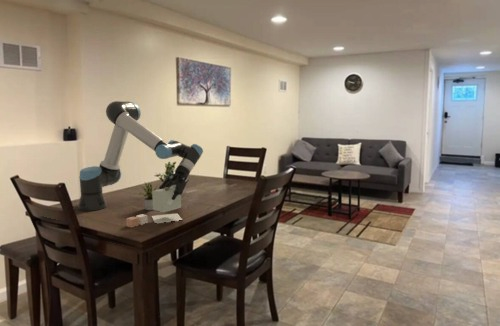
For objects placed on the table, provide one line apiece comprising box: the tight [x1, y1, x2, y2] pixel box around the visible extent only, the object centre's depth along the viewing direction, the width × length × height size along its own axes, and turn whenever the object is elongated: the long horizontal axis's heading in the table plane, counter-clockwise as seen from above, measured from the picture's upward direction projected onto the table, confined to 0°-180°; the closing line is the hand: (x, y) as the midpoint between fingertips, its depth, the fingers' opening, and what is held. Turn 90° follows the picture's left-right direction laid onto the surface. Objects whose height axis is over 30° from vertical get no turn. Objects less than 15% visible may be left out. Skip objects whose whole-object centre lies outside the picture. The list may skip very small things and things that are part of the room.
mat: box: [151, 213, 183, 224], centre depth 192 cm, size 14×13×1 cm
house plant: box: [138, 181, 158, 211], centre depth 210 cm, size 14×14×16 cm
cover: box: [152, 186, 182, 213], centre depth 190 cm, size 12×8×11 cm
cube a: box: [135, 213, 148, 226], centre depth 184 cm, size 4×4×4 cm
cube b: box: [125, 216, 139, 228], centre depth 179 cm, size 4×4×4 cm
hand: (162, 202), depth 188 cm, fingers closed on cover, 8 cm apart
